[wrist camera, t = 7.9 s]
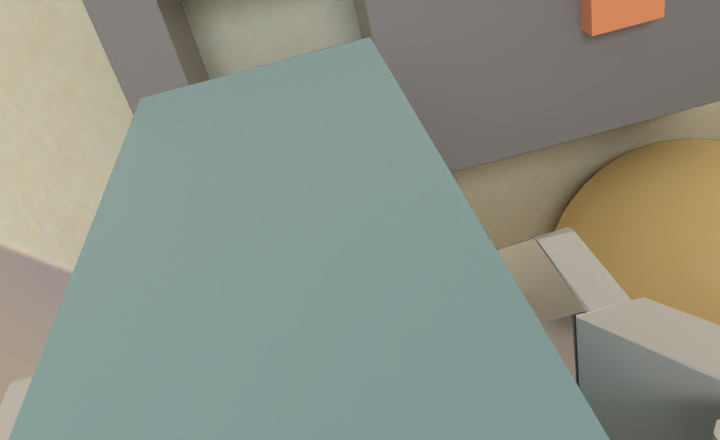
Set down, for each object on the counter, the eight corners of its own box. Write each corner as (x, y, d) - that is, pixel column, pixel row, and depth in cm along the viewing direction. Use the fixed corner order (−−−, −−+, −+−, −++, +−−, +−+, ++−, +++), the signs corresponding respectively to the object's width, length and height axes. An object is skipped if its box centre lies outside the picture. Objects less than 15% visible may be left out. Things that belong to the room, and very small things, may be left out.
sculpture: (481, 308, 33) (572, 496, 23) (584, 84, 27) (755, 216, 18) (670, 334, 36) (815, 509, 26) (798, 136, 30) (1039, 273, 21)
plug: (370, 36, 12) (798, 754, 3) (410, 229, 14) (715, 966, 5) (140, 98, 12) (-226, 1046, 3) (219, 280, 14) (171, 1120, 5)
